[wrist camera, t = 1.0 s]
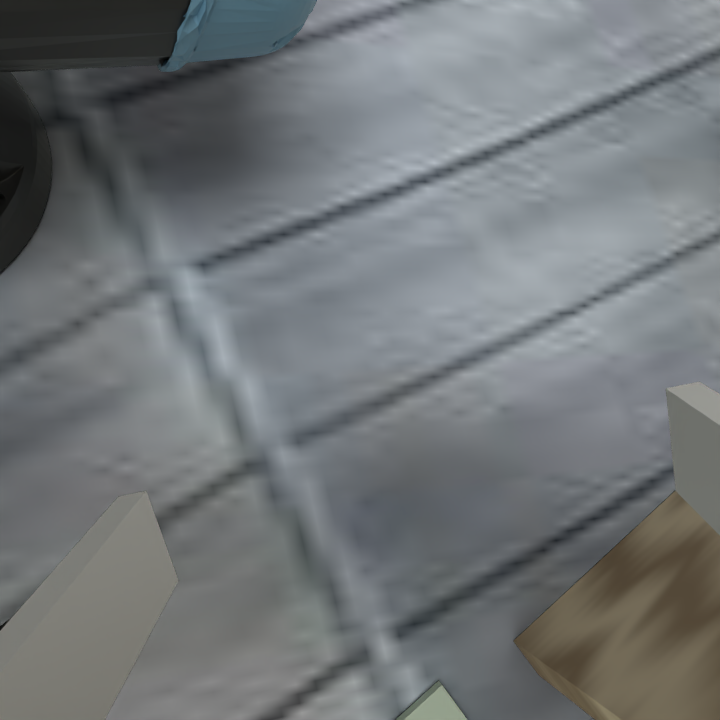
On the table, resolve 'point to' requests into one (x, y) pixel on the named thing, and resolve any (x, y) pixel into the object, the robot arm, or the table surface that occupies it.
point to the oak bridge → (640, 625)
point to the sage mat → (433, 706)
